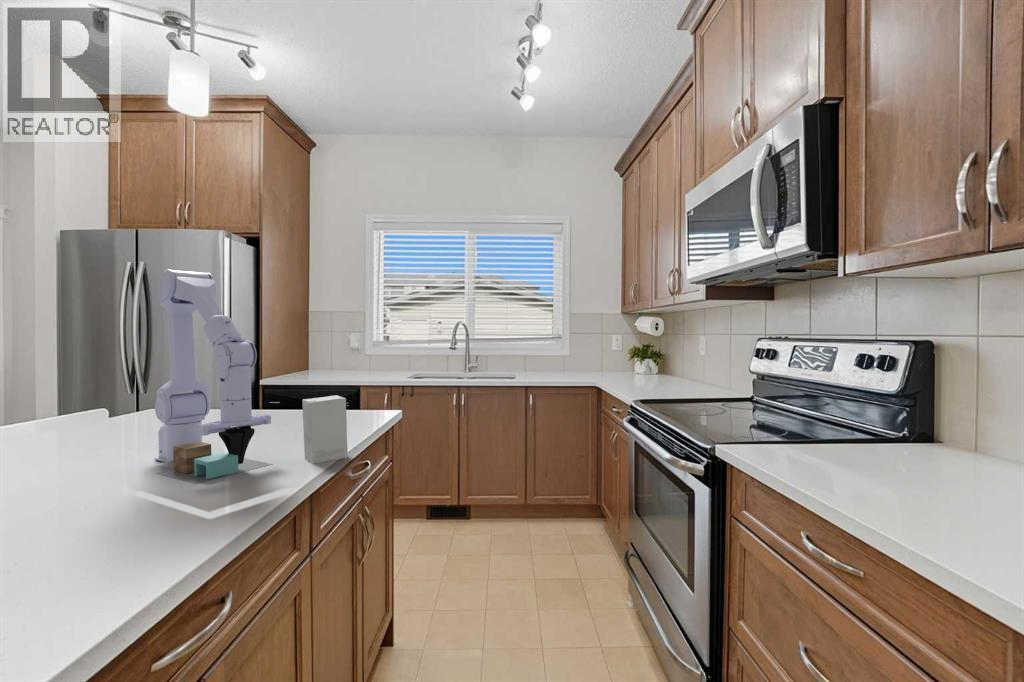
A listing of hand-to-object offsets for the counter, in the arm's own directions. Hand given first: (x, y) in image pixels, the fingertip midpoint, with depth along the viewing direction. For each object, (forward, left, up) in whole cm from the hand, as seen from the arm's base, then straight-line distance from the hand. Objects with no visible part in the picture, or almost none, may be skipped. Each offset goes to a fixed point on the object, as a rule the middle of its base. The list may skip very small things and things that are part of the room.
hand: (237, 463), depth 106 cm
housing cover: (0, -4, -1) cm, 4 cm away
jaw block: (-8, -5, -1) cm, 9 cm away
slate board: (-4, -2, -2) cm, 5 cm away
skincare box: (+9, +15, -2) cm, 18 cm away
